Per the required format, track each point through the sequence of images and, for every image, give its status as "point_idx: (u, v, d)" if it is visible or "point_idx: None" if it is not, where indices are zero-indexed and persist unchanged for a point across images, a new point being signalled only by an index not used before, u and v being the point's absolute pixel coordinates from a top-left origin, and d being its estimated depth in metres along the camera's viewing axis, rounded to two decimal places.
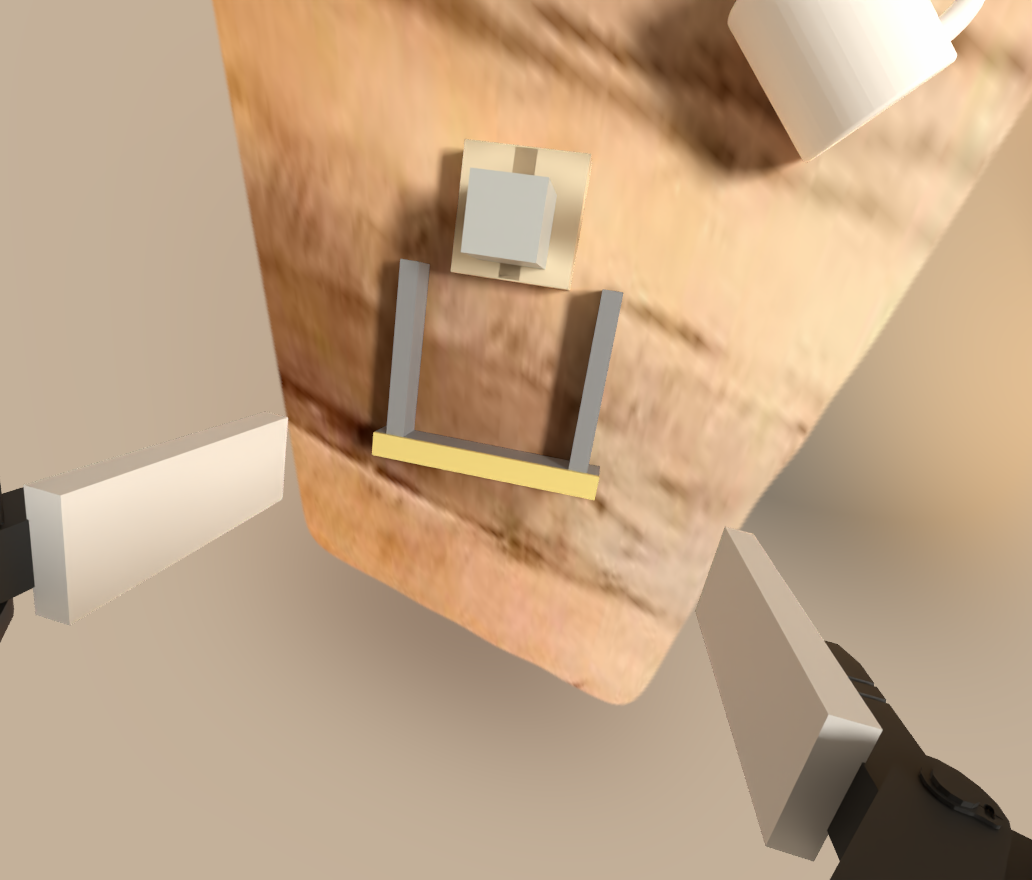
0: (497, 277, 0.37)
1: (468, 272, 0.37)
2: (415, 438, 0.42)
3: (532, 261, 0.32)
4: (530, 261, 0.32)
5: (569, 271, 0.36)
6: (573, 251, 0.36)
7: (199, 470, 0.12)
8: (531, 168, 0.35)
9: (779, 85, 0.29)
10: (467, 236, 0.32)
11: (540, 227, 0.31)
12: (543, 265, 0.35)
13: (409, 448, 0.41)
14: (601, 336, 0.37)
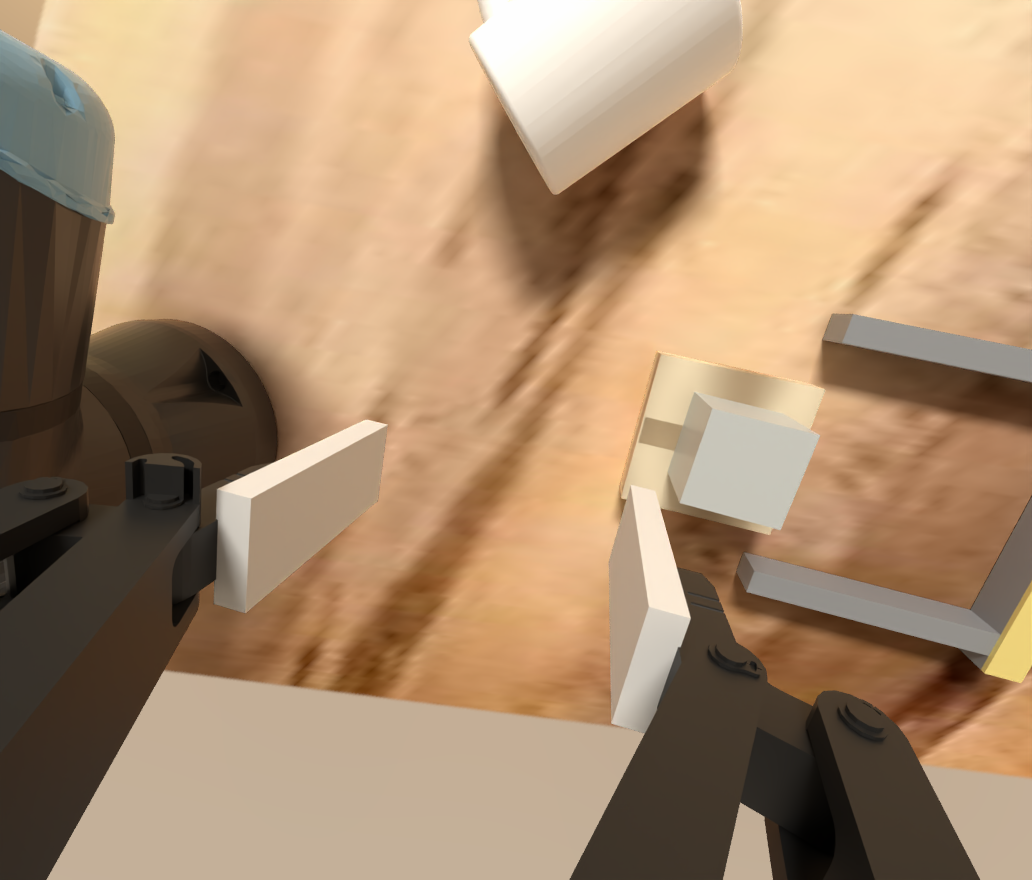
0: None
1: None
2: (1007, 619, 0.29)
3: (816, 439, 0.23)
4: (815, 442, 0.23)
5: (801, 386, 0.27)
6: (775, 379, 0.28)
7: (331, 475, 0.13)
8: (665, 425, 0.29)
9: (647, 119, 0.23)
10: (762, 518, 0.25)
11: (773, 425, 0.23)
12: (787, 417, 0.27)
13: (1025, 631, 0.28)
14: (911, 345, 0.26)
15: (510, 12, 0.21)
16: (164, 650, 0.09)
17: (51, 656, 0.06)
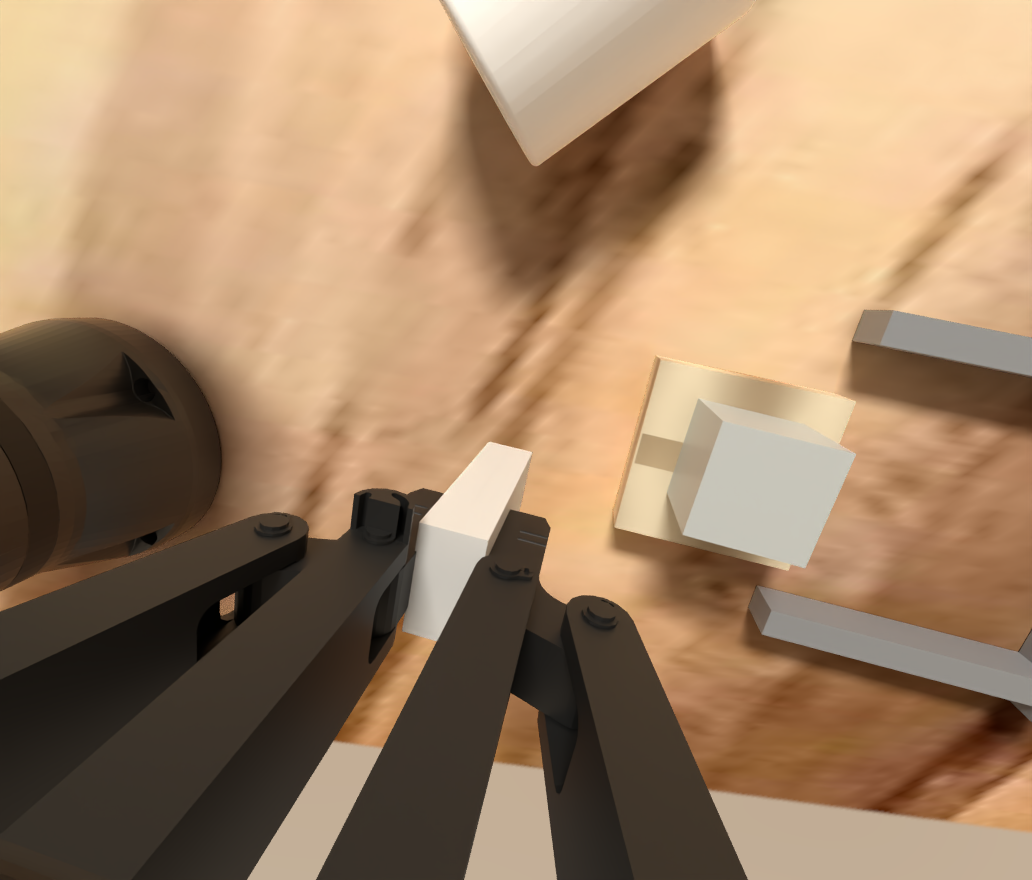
0: None
1: None
2: None
3: (851, 459, 0.19)
4: (850, 462, 0.19)
5: (827, 397, 0.23)
6: (796, 390, 0.23)
7: None
8: (666, 443, 0.25)
9: (647, 67, 0.19)
10: (783, 554, 0.20)
11: (798, 441, 0.19)
12: (810, 429, 0.22)
13: None
14: (964, 348, 0.22)
15: None
16: (357, 687, 0.09)
17: (259, 693, 0.06)
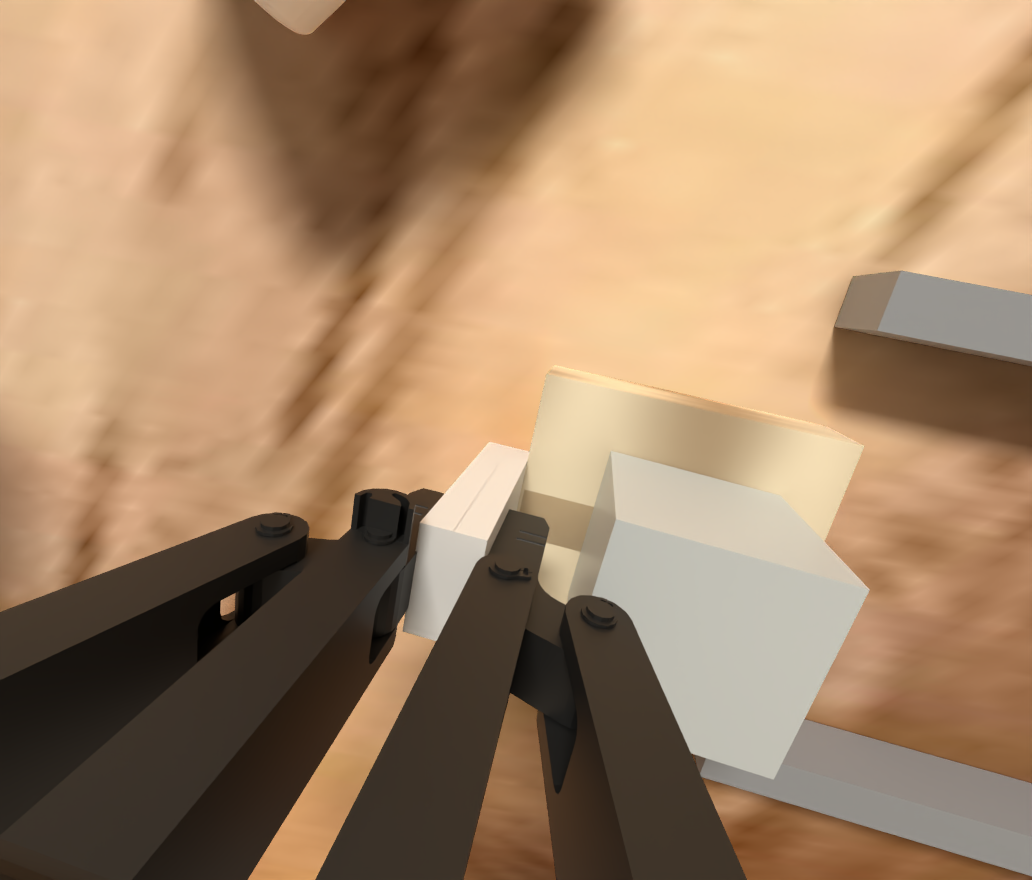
0: None
1: None
2: None
3: (860, 598, 0.10)
4: (857, 604, 0.10)
5: (816, 439, 0.14)
6: (765, 425, 0.14)
7: None
8: (561, 506, 0.16)
9: None
10: (733, 754, 0.11)
11: (757, 561, 0.10)
12: (789, 511, 0.13)
13: None
14: (1023, 335, 0.12)
15: None
16: (358, 687, 0.09)
17: (260, 693, 0.06)
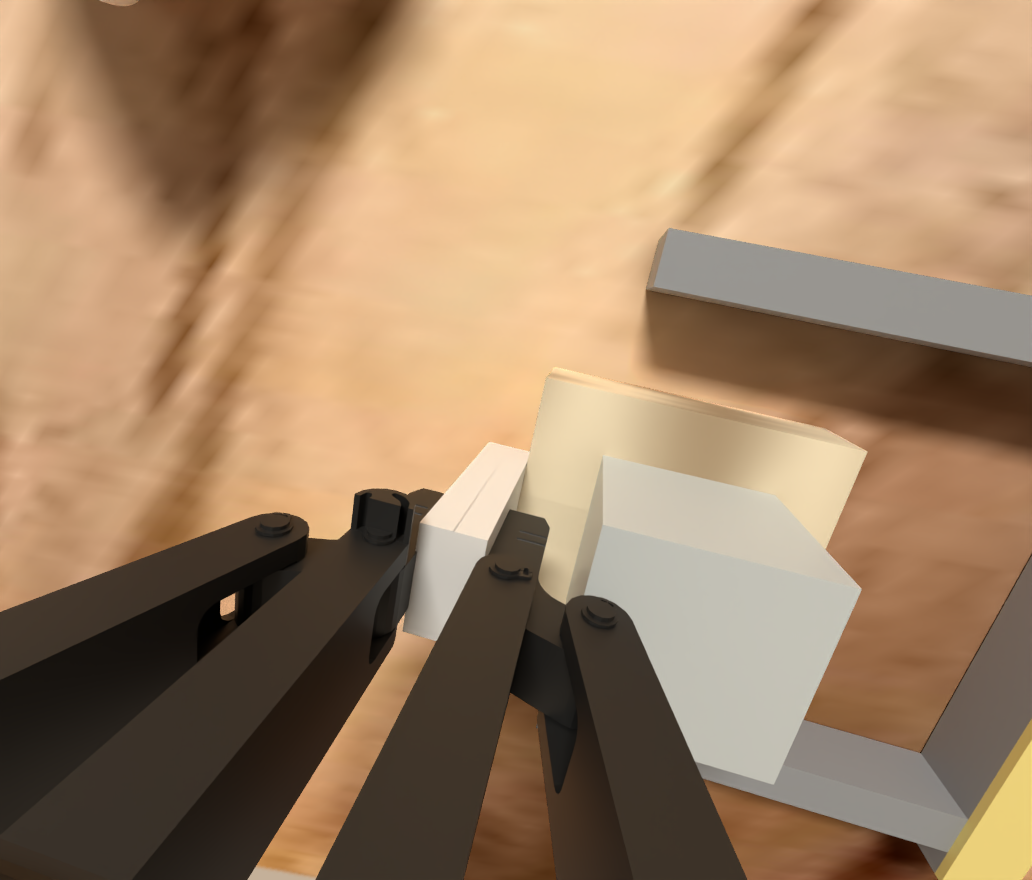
0: None
1: None
2: (979, 793, 0.16)
3: (852, 598, 0.10)
4: (850, 604, 0.10)
5: (818, 444, 0.14)
6: (767, 430, 0.14)
7: None
8: (561, 510, 0.15)
9: None
10: (732, 759, 0.11)
11: (746, 563, 0.10)
12: (784, 510, 0.13)
13: (1012, 819, 0.15)
14: (784, 289, 0.13)
15: None
16: (358, 687, 0.09)
17: (260, 693, 0.06)
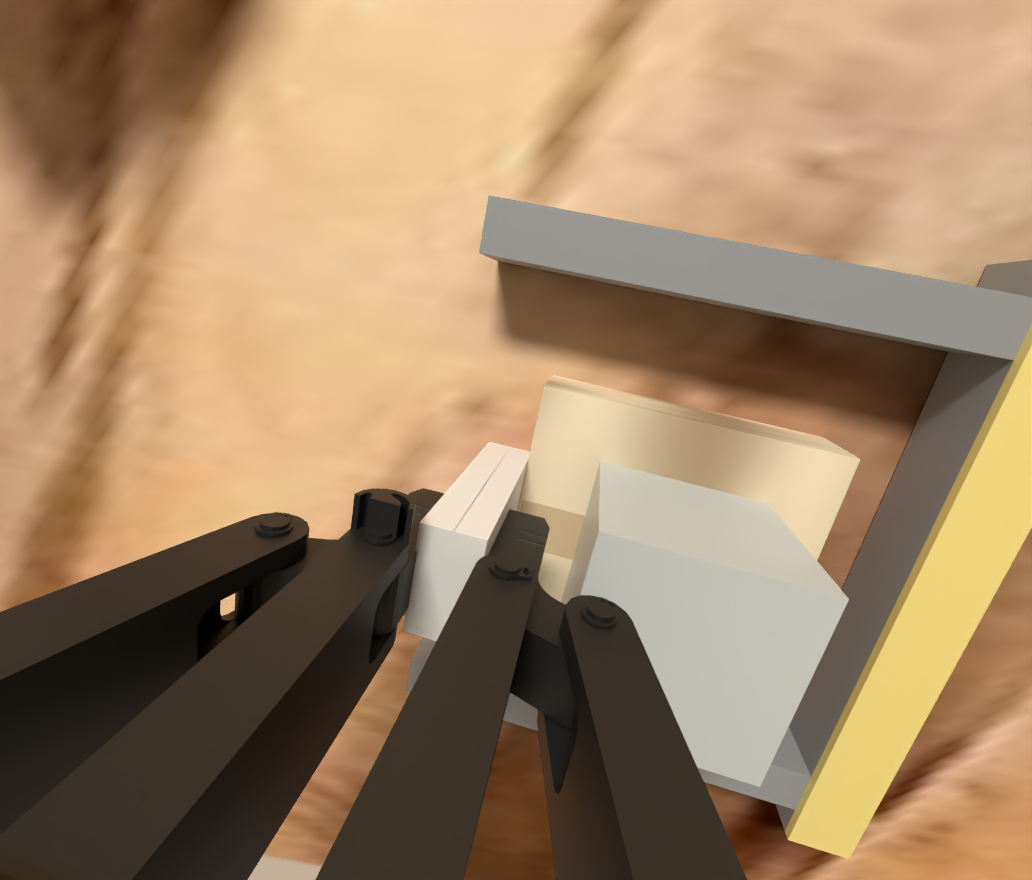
0: None
1: None
2: (820, 750, 0.16)
3: (839, 608, 0.10)
4: (837, 613, 0.10)
5: (812, 452, 0.14)
6: (761, 438, 0.14)
7: None
8: (559, 515, 0.16)
9: None
10: (720, 762, 0.11)
11: (738, 571, 0.10)
12: (776, 519, 0.13)
13: (848, 775, 0.16)
14: (599, 254, 0.13)
15: None
16: (358, 687, 0.09)
17: (260, 693, 0.06)
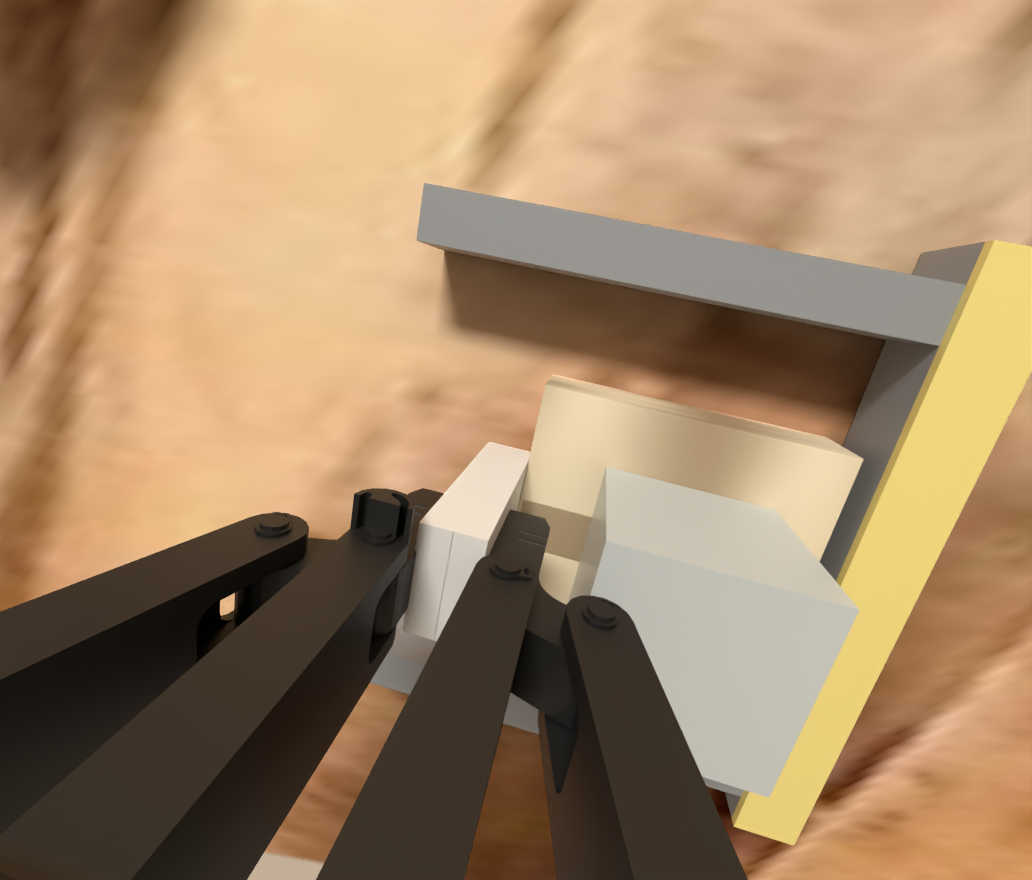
0: None
1: None
2: None
3: (850, 618, 0.10)
4: (848, 624, 0.10)
5: (815, 451, 0.14)
6: (764, 438, 0.14)
7: None
8: (560, 516, 0.16)
9: None
10: (728, 772, 0.11)
11: (747, 582, 0.10)
12: (784, 526, 0.13)
13: (790, 761, 0.16)
14: (533, 241, 0.14)
15: None
16: (357, 687, 0.09)
17: (259, 693, 0.06)
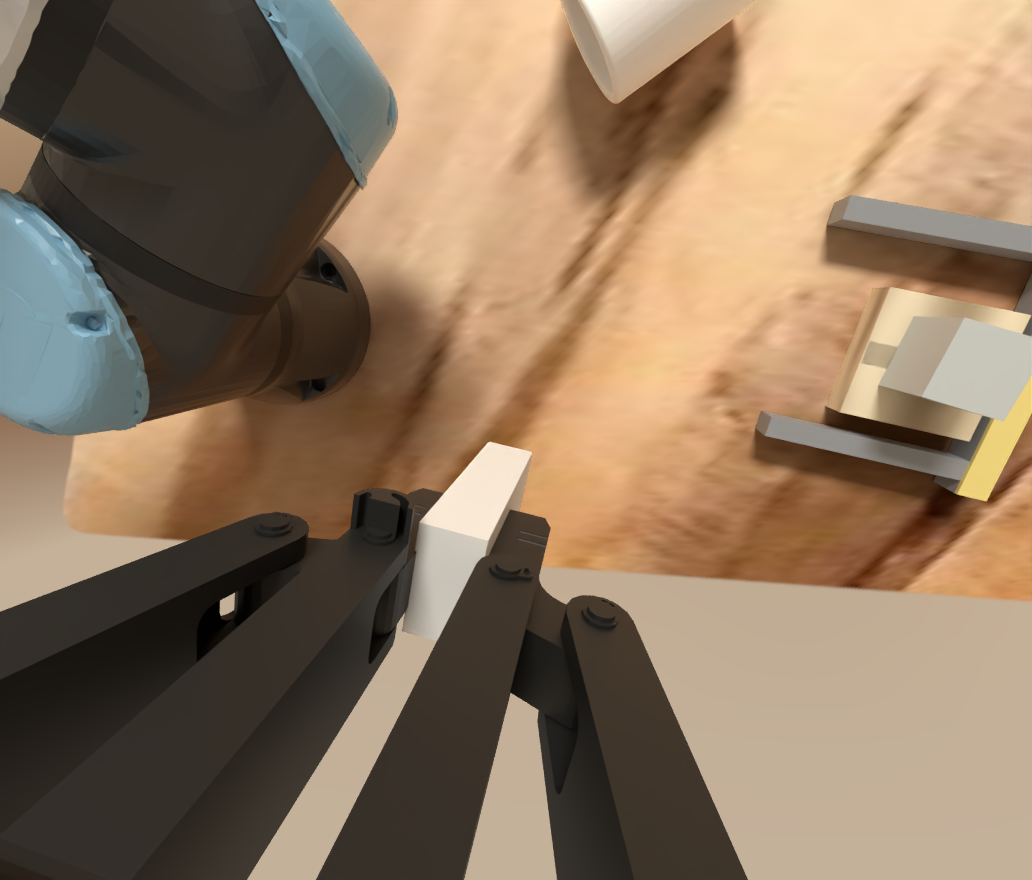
0: None
1: (976, 422, 0.35)
2: (974, 448, 0.36)
3: None
4: None
5: (1010, 312, 0.33)
6: (988, 307, 0.33)
7: None
8: (887, 348, 0.35)
9: (694, 35, 0.30)
10: (990, 411, 0.31)
11: (1013, 332, 0.29)
12: None
13: (989, 455, 0.35)
14: (897, 219, 0.33)
15: None
16: (357, 687, 0.09)
17: (259, 693, 0.06)
